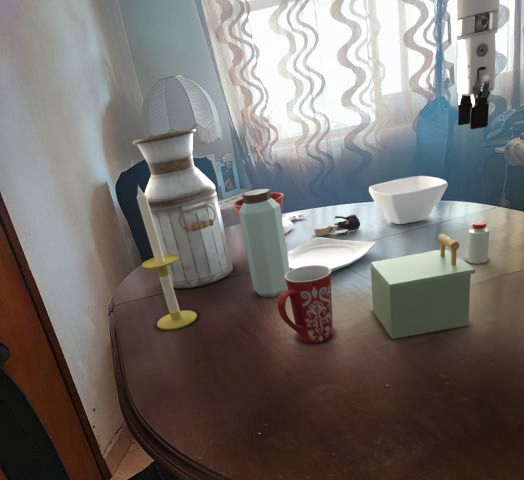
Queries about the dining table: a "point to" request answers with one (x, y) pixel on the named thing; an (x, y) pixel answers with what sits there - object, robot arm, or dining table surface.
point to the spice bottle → (478, 243)
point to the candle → (163, 272)
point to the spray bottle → (287, 221)
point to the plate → (328, 253)
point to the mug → (308, 302)
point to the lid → (423, 266)
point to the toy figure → (339, 226)
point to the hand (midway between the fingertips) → (471, 125)
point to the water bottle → (264, 242)
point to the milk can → (185, 211)
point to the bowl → (408, 197)
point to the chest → (421, 305)
